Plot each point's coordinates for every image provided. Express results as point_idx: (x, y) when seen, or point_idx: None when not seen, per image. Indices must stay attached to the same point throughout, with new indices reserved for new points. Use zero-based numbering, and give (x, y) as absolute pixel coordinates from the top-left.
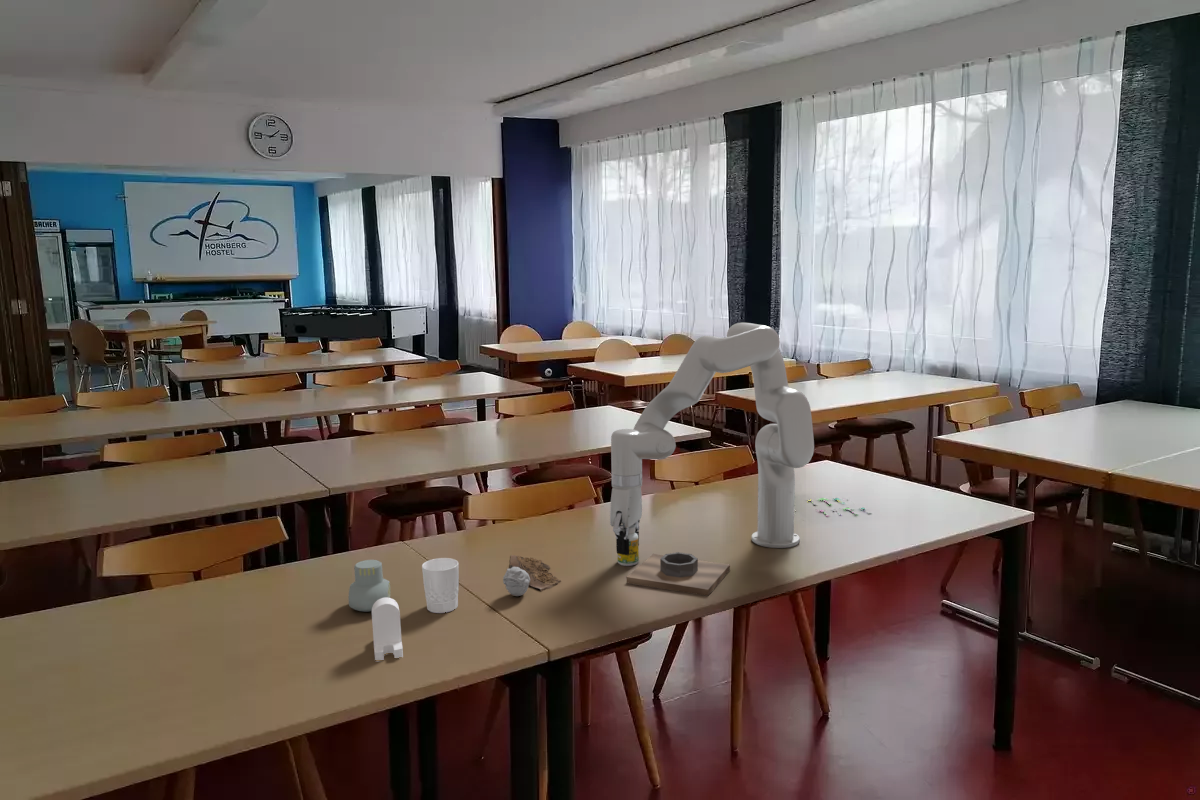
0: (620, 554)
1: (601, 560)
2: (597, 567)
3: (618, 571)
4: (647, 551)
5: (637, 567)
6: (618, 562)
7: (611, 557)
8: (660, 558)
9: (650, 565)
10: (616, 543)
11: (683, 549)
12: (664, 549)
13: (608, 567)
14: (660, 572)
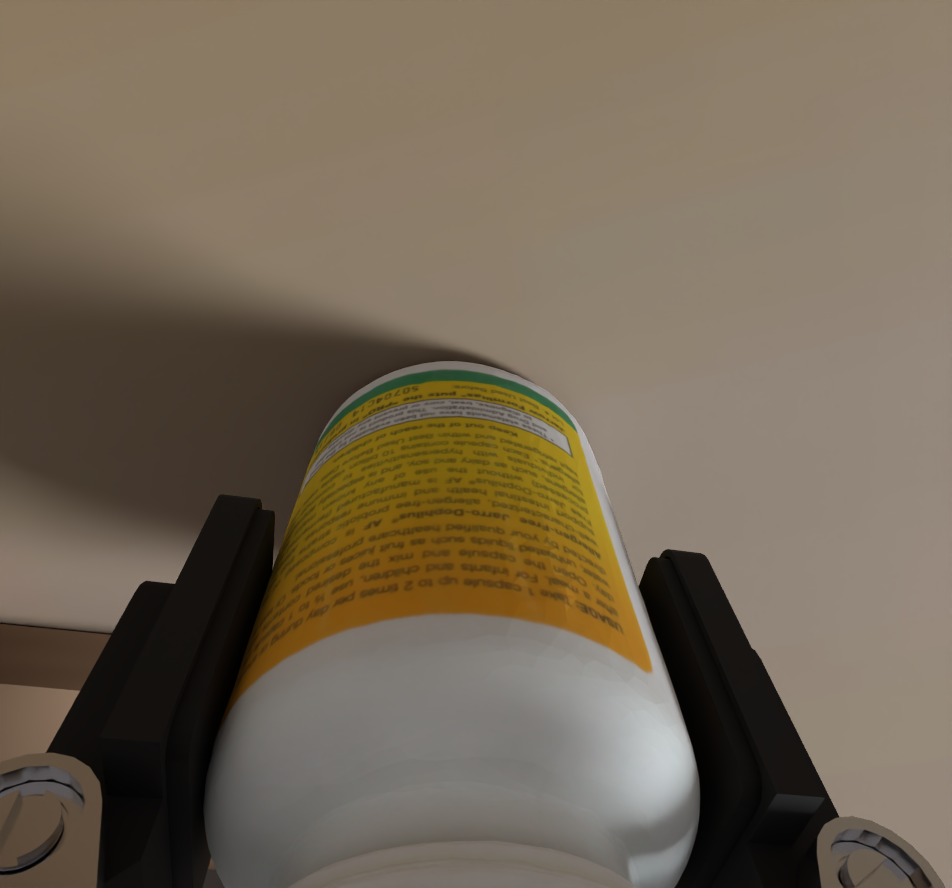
0: (296, 510)
1: (455, 68)
2: (109, 93)
3: (105, 442)
4: (876, 589)
5: None
6: (355, 394)
7: (625, 207)
8: None
9: None
10: (160, 619)
11: (910, 828)
12: (928, 712)
13: (188, 276)
14: None
